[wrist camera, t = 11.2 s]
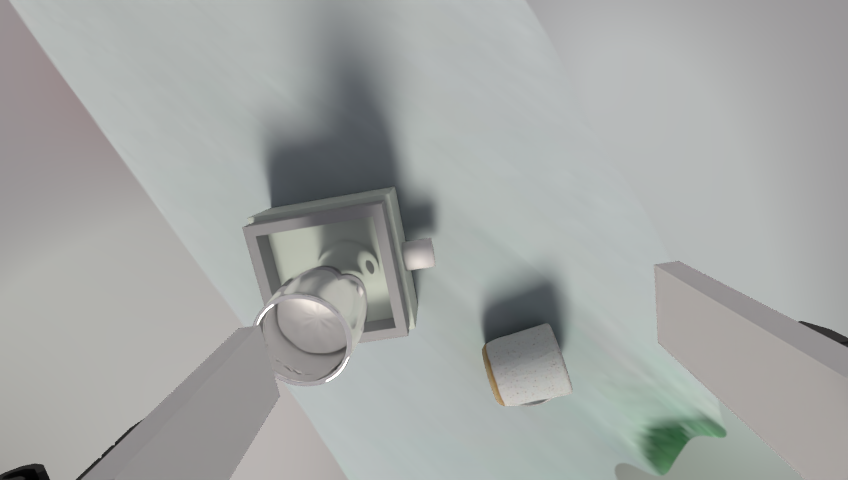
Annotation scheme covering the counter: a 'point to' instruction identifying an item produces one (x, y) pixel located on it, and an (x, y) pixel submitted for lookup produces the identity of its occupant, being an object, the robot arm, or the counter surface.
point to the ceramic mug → (526, 367)
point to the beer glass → (319, 315)
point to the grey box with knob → (336, 222)
